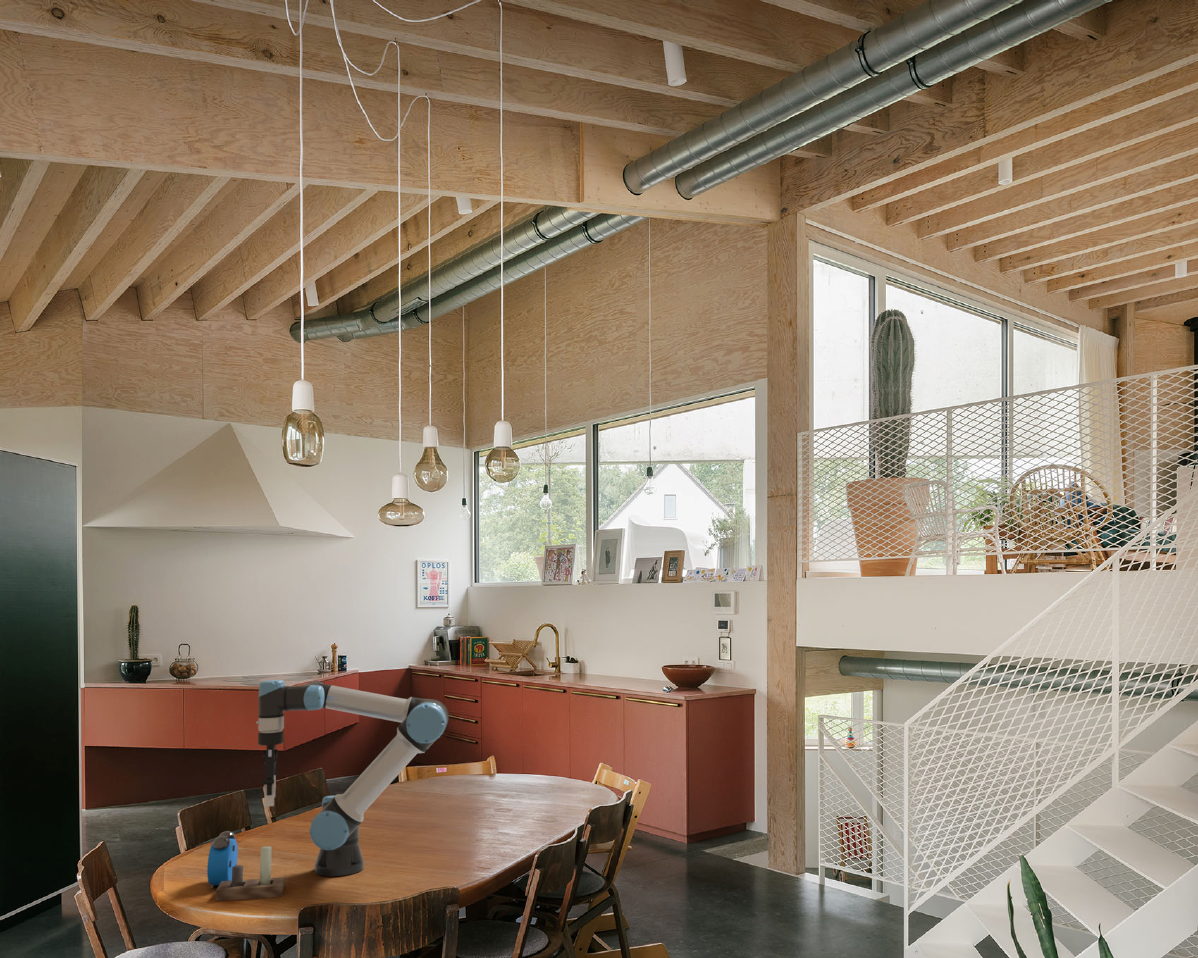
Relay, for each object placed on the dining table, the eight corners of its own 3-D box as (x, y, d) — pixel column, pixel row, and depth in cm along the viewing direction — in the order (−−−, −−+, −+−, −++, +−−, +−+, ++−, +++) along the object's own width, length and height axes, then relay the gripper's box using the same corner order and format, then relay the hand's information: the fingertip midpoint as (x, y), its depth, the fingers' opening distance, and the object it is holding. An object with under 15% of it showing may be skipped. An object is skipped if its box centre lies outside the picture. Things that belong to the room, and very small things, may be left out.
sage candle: (259, 892, 282) (261, 846, 284) (270, 891, 283) (272, 845, 285) (258, 895, 279) (260, 849, 281) (269, 894, 280) (270, 848, 282)
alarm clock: (217, 878, 296) (219, 828, 298) (237, 877, 297) (239, 827, 299) (205, 891, 283) (208, 839, 285) (227, 890, 284) (229, 838, 286)
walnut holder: (284, 887, 287) (285, 859, 288) (281, 896, 278) (282, 867, 279) (221, 891, 283) (222, 863, 284) (215, 900, 274) (216, 871, 275)
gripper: (259, 726, 306) (259, 794, 304) (256, 737, 283) (255, 811, 280) (284, 725, 309) (283, 792, 306) (282, 735, 285) (281, 808, 282)
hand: (270, 801), depth 293 cm, fingers open, 13 cm apart
